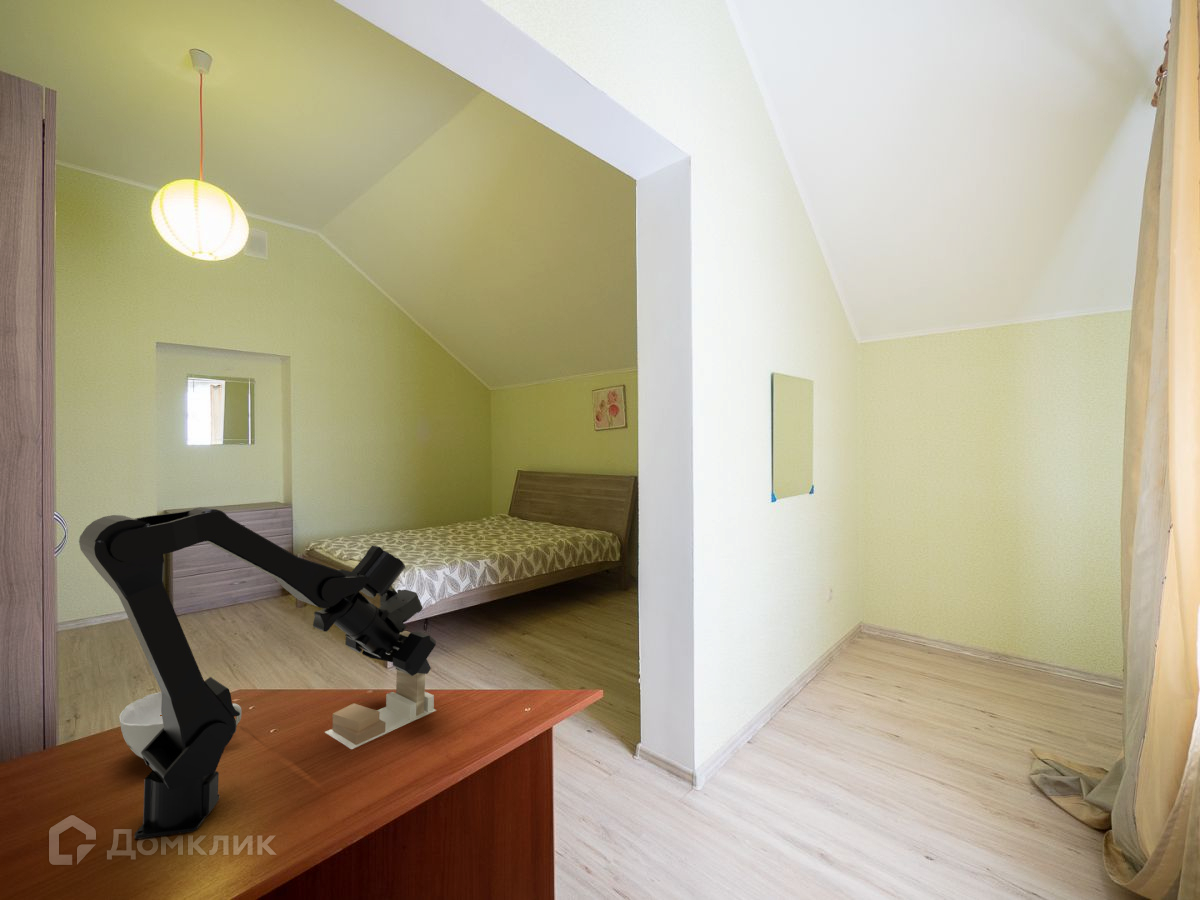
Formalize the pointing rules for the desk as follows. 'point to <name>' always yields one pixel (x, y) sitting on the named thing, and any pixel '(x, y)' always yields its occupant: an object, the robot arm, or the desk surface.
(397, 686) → the grey brown wooden board
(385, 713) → the offcut rack
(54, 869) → the desk surface
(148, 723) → the teacup
